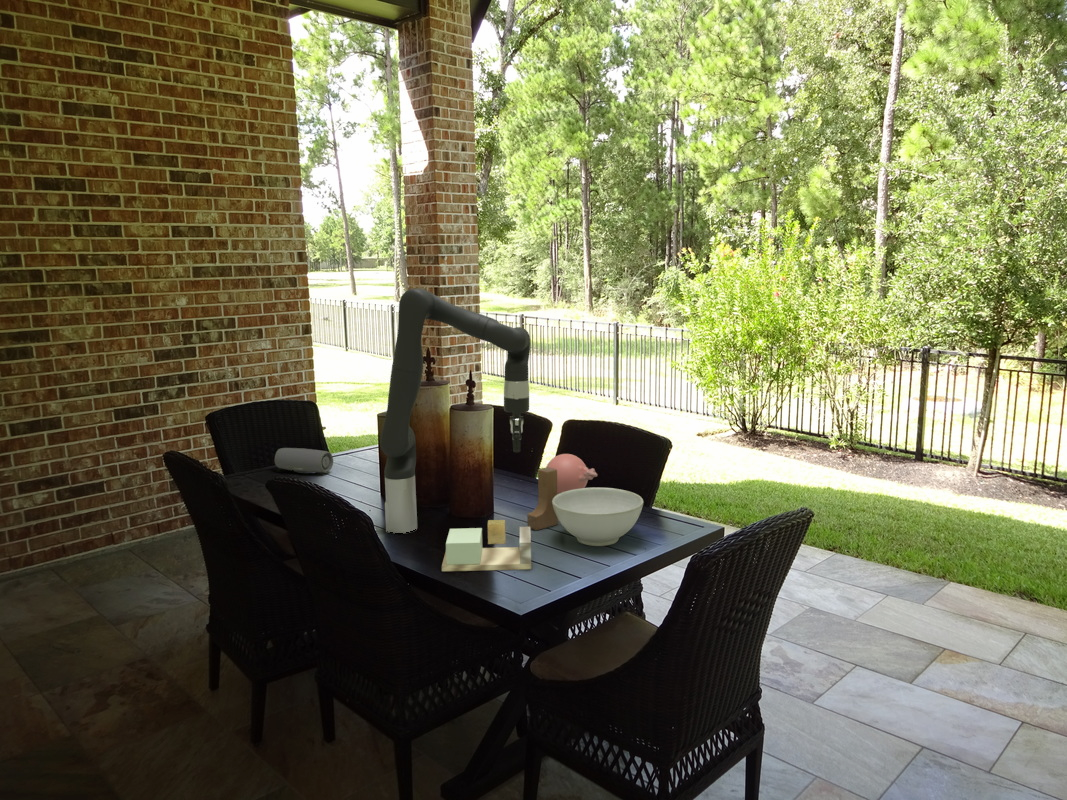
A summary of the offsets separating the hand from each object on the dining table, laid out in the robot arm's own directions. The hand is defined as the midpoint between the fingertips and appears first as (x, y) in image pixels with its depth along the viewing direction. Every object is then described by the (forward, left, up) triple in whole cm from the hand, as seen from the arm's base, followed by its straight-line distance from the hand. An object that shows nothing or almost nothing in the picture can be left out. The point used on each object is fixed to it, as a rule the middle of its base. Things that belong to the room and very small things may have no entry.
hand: (516, 448), depth 232 cm
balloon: (+19, +37, -27) cm, 49 cm away
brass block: (-6, -6, -27) cm, 28 cm away
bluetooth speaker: (-87, +81, -27) cm, 122 cm away
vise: (-8, -22, -27) cm, 36 cm away
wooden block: (+8, +7, -27) cm, 29 cm away
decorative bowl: (+24, -6, -27) cm, 36 cm away
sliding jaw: (-15, -22, -25) cm, 37 cm away
